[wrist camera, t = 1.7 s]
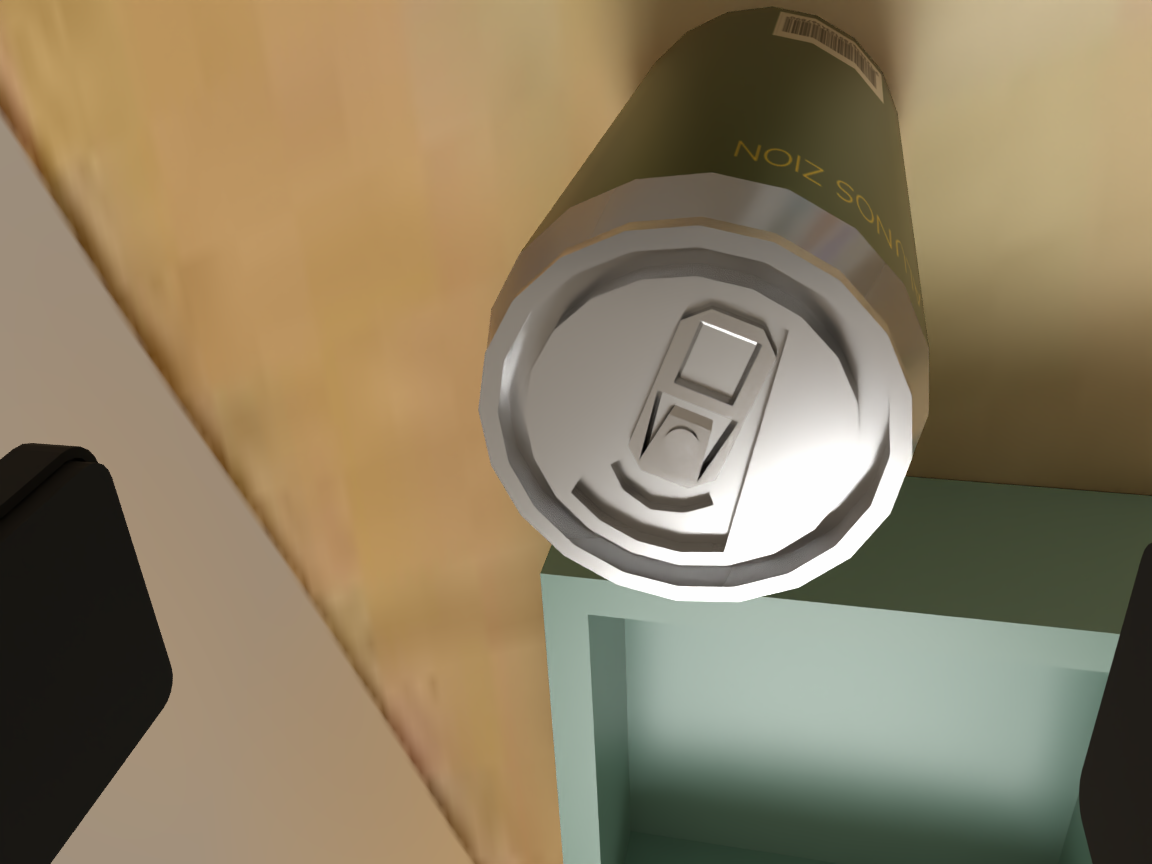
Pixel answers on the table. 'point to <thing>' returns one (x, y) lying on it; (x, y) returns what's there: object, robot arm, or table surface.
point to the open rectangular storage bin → (852, 693)
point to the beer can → (719, 323)
